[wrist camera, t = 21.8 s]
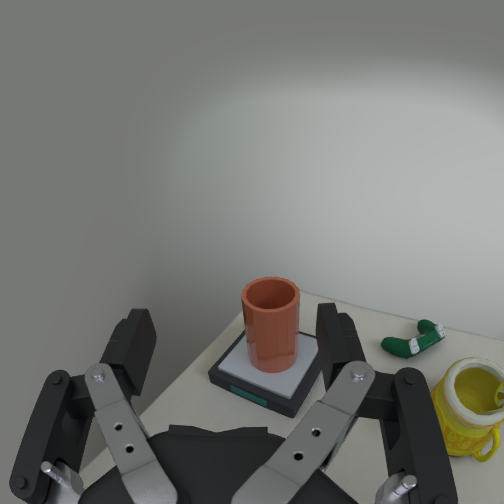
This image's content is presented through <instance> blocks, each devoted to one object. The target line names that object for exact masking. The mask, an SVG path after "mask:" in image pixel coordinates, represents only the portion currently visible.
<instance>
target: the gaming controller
mask: <svg viewBox="0 0 504 504" xmlns="http://www.w3.org/2000/svg"><path fill="white" fill-rule="evenodd" d="M418 330H419V331H420V333H421V334H419V335H418V336H416V337H414V338H412V339H410V340H404V339H399V338H394V337H386V338H384V339H383V341H382V343H381V346H382V347H384V348H385V349H386V350H387V351H389V352H391V353H392V354H395V355H397V356H400V357H404V358H406V359H407V358H409V357H413V356H415V355H417V354H419V353H420V352H422V351H424V350H425V349H427V348H429V347H430V346H432V345H434V344H435V343H437V342H439V341H440V340H442V339H443V338H444V337H445V331H444V329H443V327H442V325H441V324H438V325H435V324H434V323H432V322H431V321H429V320H420V321H419V322H418Z"/></svg>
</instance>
